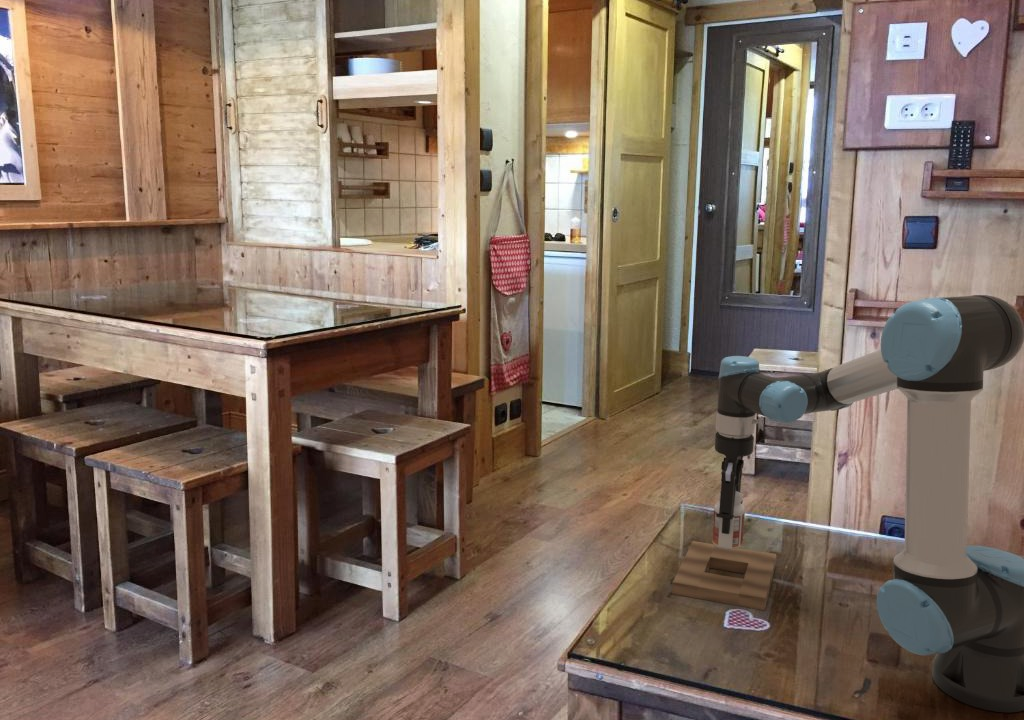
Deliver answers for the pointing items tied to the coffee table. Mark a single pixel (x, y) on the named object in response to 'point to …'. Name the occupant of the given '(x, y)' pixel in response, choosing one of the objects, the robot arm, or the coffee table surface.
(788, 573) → the coffee table surface
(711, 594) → the square wooden frame
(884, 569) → the coffee table surface
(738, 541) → the pill bottle
